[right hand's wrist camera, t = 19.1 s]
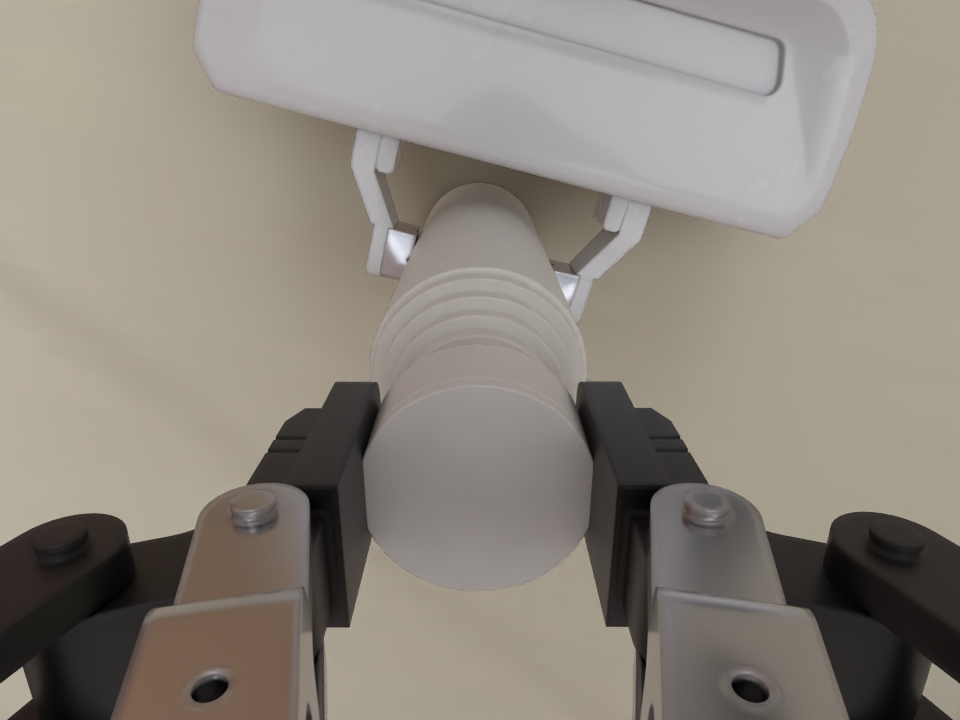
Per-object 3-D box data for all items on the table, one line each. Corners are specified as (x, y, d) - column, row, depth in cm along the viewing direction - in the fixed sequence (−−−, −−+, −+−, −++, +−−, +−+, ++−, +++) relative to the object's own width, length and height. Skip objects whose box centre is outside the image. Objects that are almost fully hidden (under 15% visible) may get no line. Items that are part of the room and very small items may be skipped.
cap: (597, 504, 12) (616, 567, 11) (406, 543, 13) (396, 611, 11) (559, 320, 11) (573, 360, 9) (347, 369, 11) (325, 415, 10)
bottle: (430, 296, 30) (352, 609, 12) (417, 187, 29) (301, 349, 10) (537, 287, 30) (630, 588, 12) (530, 177, 29) (627, 321, 10)
